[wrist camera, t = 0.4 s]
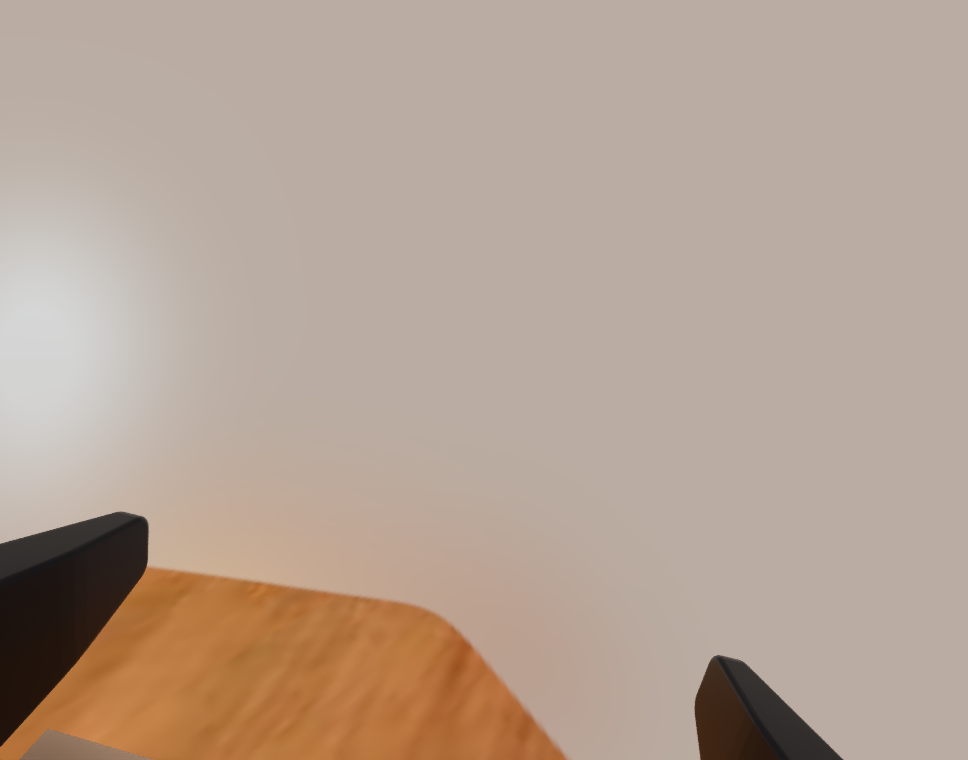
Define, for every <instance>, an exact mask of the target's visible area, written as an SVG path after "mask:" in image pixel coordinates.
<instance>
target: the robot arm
mask: <svg viewBox="0 0 968 760" xmlns="http://www.w3.org/2000/svg"><path fill="white" fill-rule="evenodd" d="M148 530H149V526H148V521H147V520H146V519H145V518H144V517H142V516H139V515H135V514H131V513H126V512H115V513H112V514H108V515H105V516H101V517H97V518H93V519H90V520H86V521H82V522H79V523H75V524H72V525H68V526H64V527H60V528H57V529H53V530H49V531H46V532H42V533H39V534H35V535H31V536H27V537H24V538H20V539H17V540H13V541H9V542H5V543H1V544H0V747H1V746H2V745H3V744H4V742H5V741H6V740H7V739H8V738H9V737H10V736H11V735H12V734H13V733H14V731H15V730H16V729H17V728H18V727H19V726H20V725H21V724H22V723H23V722H24V720H25V719H26V718H27V717H28V716H29V715H30V714H31V713H32V712H33V711H34V709H35V708H36V707H37V706H38V705H39V704H40V703H41V702H42V701H43V700H44V698H45V697H46V696H47V695H48V694H49V693H50V692H51V691H52V690H53V688H54V687H55V686H56V685H57V684H58V683H59V682H60V681H61V680H62V679H63V677H64V676H65V675H66V674H67V673H68V672H69V671H70V669H71V668H72V667H73V666H74V665H75V664H76V662H77V661H78V660H79V659H80V657H81V656H82V655H83V654H84V652H85V651H86V650H87V649H88V647H89V646H90V645H91V643H92V642H93V641H94V639H95V638H96V637H97V635H98V634H99V633H100V632H101V630H102V629H103V628H104V626H105V625H106V624H107V622H108V621H109V620H110V618H111V617H112V616H113V614H114V613H115V612H116V610H117V609H118V608H119V606H120V605H121V604H122V602H123V601H124V600H125V598H126V597H127V596H128V594H129V593H130V592H131V590H132V589H133V588H134V586H135V585H136V584H137V583H138V581H139V580H140V578H141V577H142V575H143V574H144V572H145V569H146V567H147V562H148V534H149V531H148ZM695 718H696V727H697V735H698V743H699V751H700V759H701V760H843V759H842V758H841V757H840V756H839V755H838V754H837V753H836V752H835V751H834V750H833V749H832V748H831V747H830V746H829V745H828V744H827V743H826V742H825V741H824V740H823V739H822V738H821V737H820V736H819V735H818V734H817V733H816V732H814V730H813V729H812V728H810V727H809V725H808V724H807V723H805V721H804V720H802V719H801V718H800V717H799V716H798V715H797V714H796V713H795V712H794V711H793V710H792V709H791V708H790V707H789V706H788V705H787V704H786V703H785V702H784V701H783V700H782V699H781V698H780V697H779V696H778V695H777V694H776V693H775V692H774V691H773V690H772V689H771V688H770V687H769V686H768V685H767V684H766V683H765V682H764V681H763V680H762V679H761V678H760V677H759V676H758V675H757V674H756V673H755V672H754V671H753V670H752V669H750V667H749V666H747V664H745V663H744V662H743V661H741V660H738V659H733V658H729V657H725V656H721V655H717V656H714V657H713V658H712V659H711V661H710V662H709V665H708V667H707V670H706V672H705V675H704V677H703V680H702V683H701V685H700V688H699V690H698V693H697V695H696V700H695Z"/></svg>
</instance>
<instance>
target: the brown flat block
mask: <svg viewBox="0 0 968 760" xmlns="http://www.w3.org/2000/svg"><path fill="white" fill-rule="evenodd" d="M20 760H152V759H149V758H145V757H142V756H139V755H135V754H132V753H129V752H125V751H122V750H118V749H115V748H112V747H108V746H105V745H102V744H98V743H95V742H92V741H88V740H85V739H81V738H78V737H75V736H71V735H68V734H65V733H61V732H58V731H55V730H51V729H47V730H46V731H45V732H44V733H43V734H42V736H41V737H40V738H39V739H38V740H37V741H36V742H35V743H34V744H33V745H32V746H31V748H30V749H29V750H28V751H27V752H26V753H25V754H24V755H23V756H22V757H21V758H20Z"/></svg>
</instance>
